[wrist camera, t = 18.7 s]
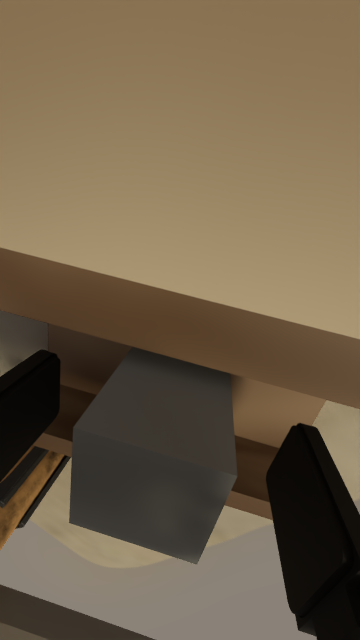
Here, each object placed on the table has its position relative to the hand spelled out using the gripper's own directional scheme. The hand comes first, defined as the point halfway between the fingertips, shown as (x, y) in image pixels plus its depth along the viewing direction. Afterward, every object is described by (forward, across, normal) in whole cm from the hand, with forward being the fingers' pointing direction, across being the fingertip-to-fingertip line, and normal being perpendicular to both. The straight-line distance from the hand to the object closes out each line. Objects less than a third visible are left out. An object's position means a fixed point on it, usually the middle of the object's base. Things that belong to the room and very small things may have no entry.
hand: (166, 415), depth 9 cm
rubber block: (+3, 0, 0) cm, 3 cm away
